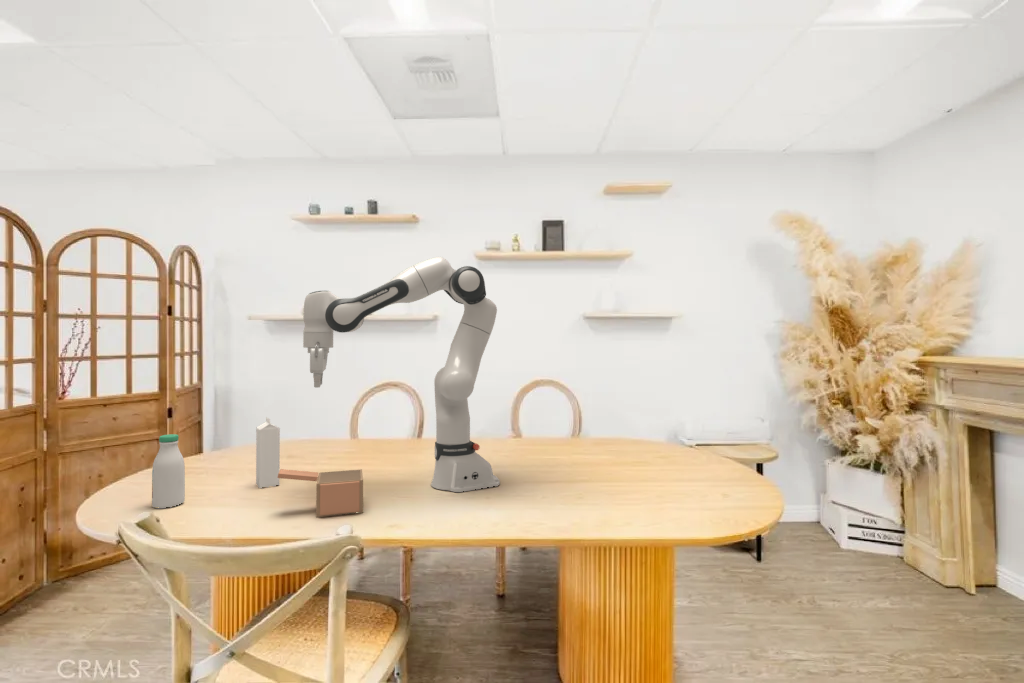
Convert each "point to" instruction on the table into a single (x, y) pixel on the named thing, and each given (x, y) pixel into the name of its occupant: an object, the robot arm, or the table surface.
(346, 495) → the carton
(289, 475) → the flap
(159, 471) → the milk bottle
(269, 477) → the milk
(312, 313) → the robot arm
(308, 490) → the table surface
